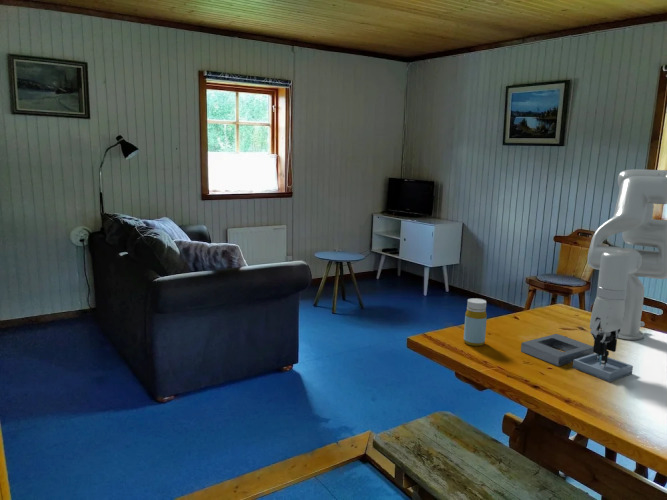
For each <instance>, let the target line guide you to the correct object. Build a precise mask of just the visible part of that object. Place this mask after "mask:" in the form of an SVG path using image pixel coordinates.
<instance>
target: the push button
mask: <svg viewBox="0 0 667 500" xmlns="http://www.w3.org/2000/svg"><path fill="white" fill-rule="evenodd" d="M599 330H600V331H602V329H599ZM599 334H600V336H601V337H602V333H599ZM613 337H614V334H612V333H610V332H608V333H607V334H606V337H605V341H604V342H605V343H607V342H610V341H612V340H613ZM609 355H610V352H609V350H607V344H606V345H605V353H604V355H599V354H598V356H597V361H598V358H599V357H600V358H599V359H600V362H599V365H601V366H604V365H605V366H606V362H607V359H608V357H609Z"/></svg>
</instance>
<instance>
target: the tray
mask: <svg viewBox="0 0 667 500" xmlns="http://www.w3.org/2000/svg"><path fill="white" fill-rule="evenodd" d="M597 356H598V354H596V353H594V354H591V355H588V356H584V357H581V358H578V359H574V360H573V362H572V368H573V369H574V370H578V371H581V372H582V373H585V374H588V375H591V376H593V377H595V378H597V379H600V380H604V381H605V382H608V383H611V382H613V381H616V380H618V379H622V378H625V377H627V376H629V375H632V374H633V370H634V366H633V365H632V364H630V363H629V364H628V363H626V362H623V361H620V360H619V359H615V358H612V357H609V356H608V359H607V362H606V366H605V365H604V366H601V365H599V362H600V359H599V358H600V357H599V358H598V361H597Z"/></svg>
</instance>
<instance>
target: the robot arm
mask: <svg viewBox="0 0 667 500" xmlns="http://www.w3.org/2000/svg"><path fill="white" fill-rule="evenodd" d="M617 185H618V187H619V190H618V195H617V200H616V204H615V208H614V211H613V216H612V217H611V218H609V219H607V220H606V221H605V222H603V223H602V224H601V225H600V226H599V227H598V228H597V229H596V230H595V232H594V233H593V236H592V238H591V241H590V244H589V248H588V251H587V252H588V253H587V264H588V266H589V267H590V268H591V269H594V270H598V279H597V287H596V288H597V289H596V297H595V299H594V303H593V306H592V310H591V315H590V320H589V329H590V335H591V336H592V337H593V340H594V341H593V346H594V348H593V352H594V353H596V354H599V355H604V353H605V345H606V344H607V351H610V352H612V353H615V352H616V350H617V344H618V343H617V342H618V340H619V339H621V340H630V341H637V340H642V339H643V338H644V336H645V334H644V332H642V331H641V330H640V329H641V328H642V327H645V325H646V324H645V322H644V321H641V319H642V313H643V306H644V298H645V286H644V284H643V282H642V281H641V280H640V278H649V279H657V280H666V279H667V220H666V219H665V220H664V219H655V218H654V217H653V215H654V208H655V207H654V205H667V170H665V169H664V170H663V169H638V168H637V169H626V170H622V171H620V172H619V174H618V176H617ZM620 233H622V240H623V242H624V243H625V244H628V245H631V246H638V247H649V248H656V249H657V250H650V249H644V248H643V249H642V248H631V247H627V248H626V247H620V246H619V247H618V246H611V245H602V244H603V243H604V242H605V240H607V238H608V239H609V238H610V237H612V236H613V235H616V234H617V235H618V234H620ZM599 329H602V331H600V330H599ZM608 332H610V333H612V334H614V337H613V340H612V341H610V342H607V343H605V342H604V341H605V337H606V334H607V333H608ZM599 333H602V337H601V336H600V334H599Z"/></svg>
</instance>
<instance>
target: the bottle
mask: <svg viewBox="0 0 667 500" xmlns="http://www.w3.org/2000/svg"><path fill="white" fill-rule="evenodd" d="M486 310H487V300H486V299H483V298H477V297H476V298H474V297H473V298H468V299H467V305H466V311H465V314H464V329H463V342H464V343H465V344H466V345H468V346H470V347H471V346H472V347H481V346H483V345H484V344H486V343H485V342H486V331H487V320H488V319H487V318H488V317H487V316H488V315H487V311H486Z"/></svg>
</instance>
